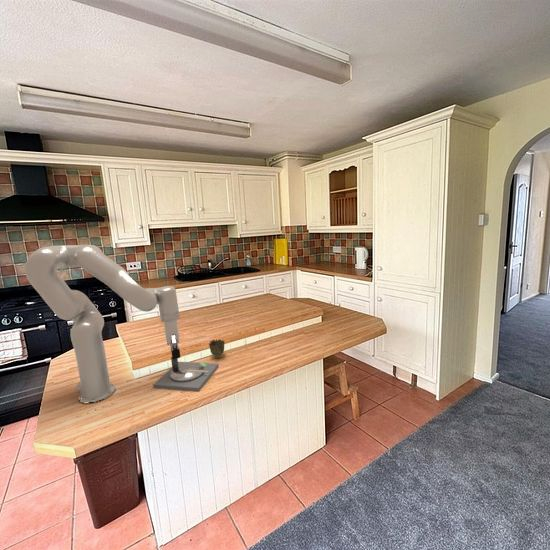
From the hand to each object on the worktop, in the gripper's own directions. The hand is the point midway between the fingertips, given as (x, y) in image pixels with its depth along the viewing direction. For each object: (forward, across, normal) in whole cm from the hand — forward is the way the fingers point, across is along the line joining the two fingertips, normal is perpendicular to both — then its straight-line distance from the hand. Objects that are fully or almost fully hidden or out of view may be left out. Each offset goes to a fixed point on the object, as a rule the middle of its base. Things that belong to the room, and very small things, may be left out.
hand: (175, 353), depth 126 cm
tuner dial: (+9, +4, +5) cm, 10 cm away
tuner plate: (+10, +3, +3) cm, 11 cm away
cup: (+11, -9, +19) cm, 24 cm away
